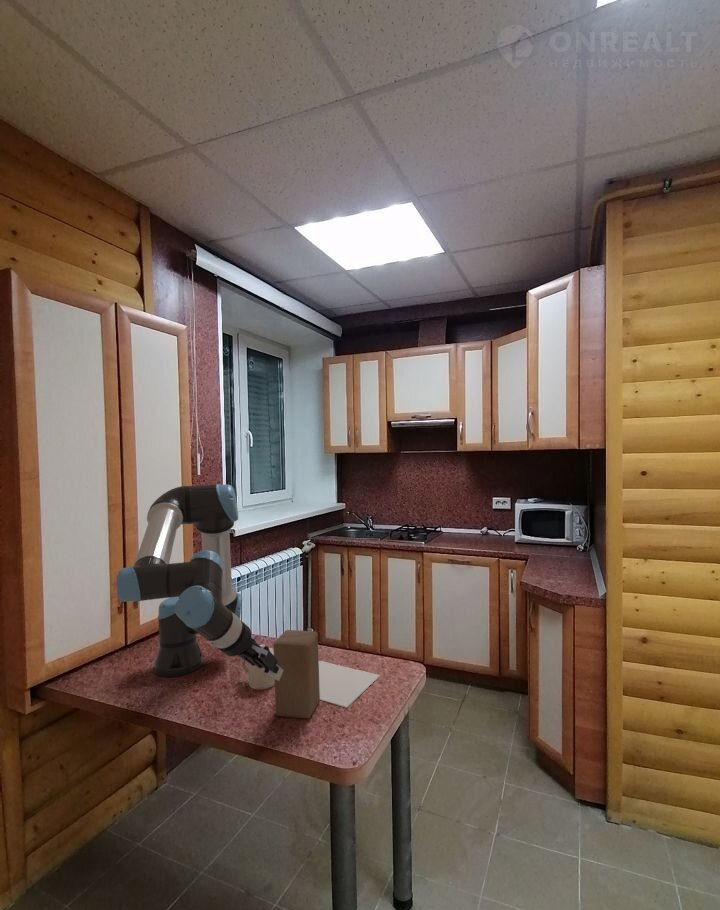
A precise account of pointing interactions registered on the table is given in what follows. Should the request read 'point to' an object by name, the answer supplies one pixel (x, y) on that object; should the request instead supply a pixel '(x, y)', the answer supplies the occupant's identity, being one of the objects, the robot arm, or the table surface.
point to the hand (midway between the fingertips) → (279, 674)
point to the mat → (342, 683)
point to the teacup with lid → (258, 675)
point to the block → (297, 673)
